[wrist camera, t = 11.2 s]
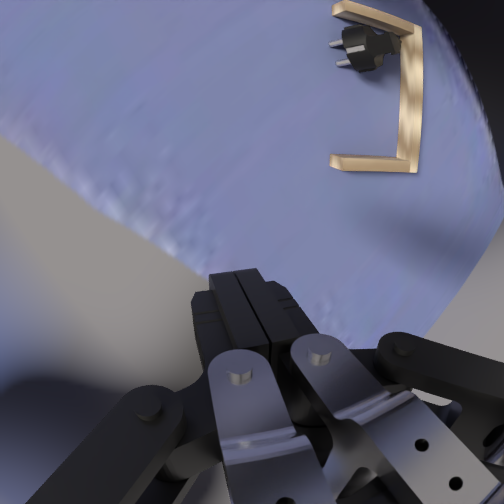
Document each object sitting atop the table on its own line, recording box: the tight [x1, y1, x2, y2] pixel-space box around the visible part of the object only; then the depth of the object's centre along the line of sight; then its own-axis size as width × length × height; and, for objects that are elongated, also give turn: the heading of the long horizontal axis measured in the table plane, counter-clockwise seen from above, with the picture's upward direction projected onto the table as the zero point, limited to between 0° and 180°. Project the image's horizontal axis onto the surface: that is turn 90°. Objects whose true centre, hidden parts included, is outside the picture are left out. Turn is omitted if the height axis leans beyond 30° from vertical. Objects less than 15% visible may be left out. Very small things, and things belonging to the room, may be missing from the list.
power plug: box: [328, 24, 402, 72], centre depth 30 cm, size 6×8×12 cm
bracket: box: [330, 0, 423, 173], centre depth 33 cm, size 21×12×3 cm, turn 179°
